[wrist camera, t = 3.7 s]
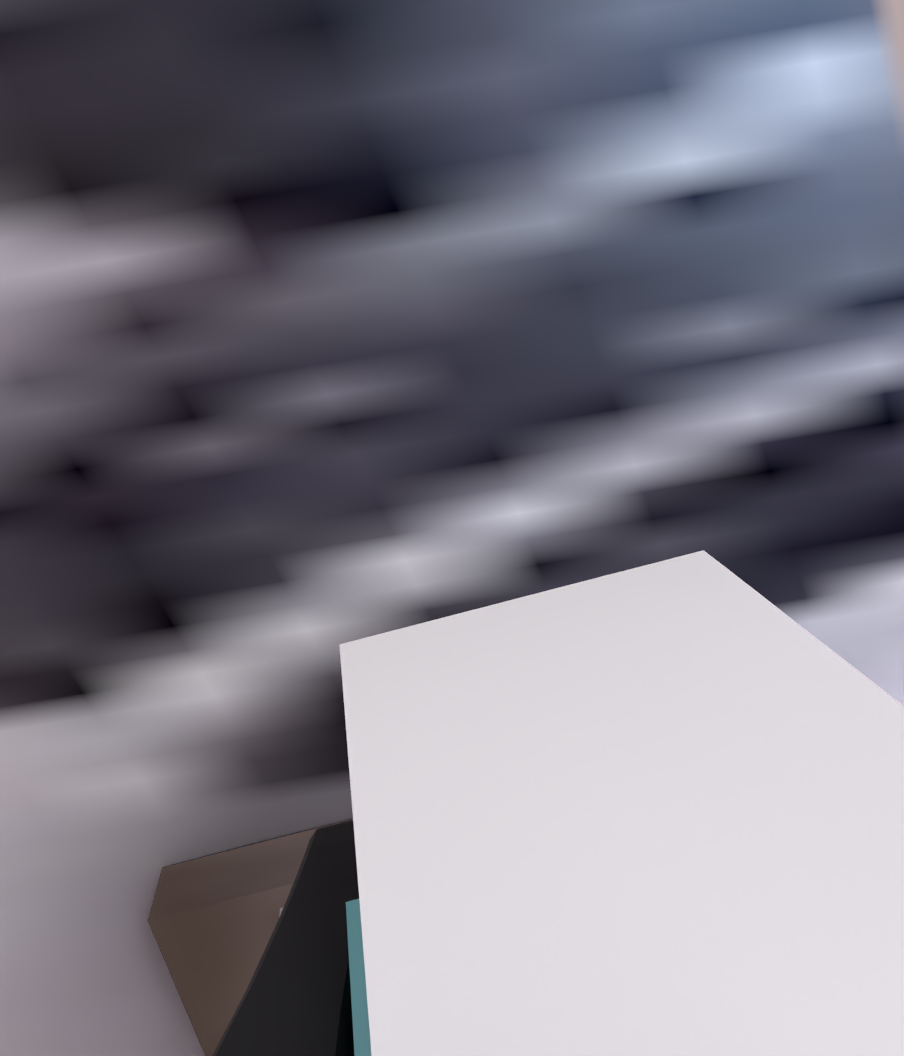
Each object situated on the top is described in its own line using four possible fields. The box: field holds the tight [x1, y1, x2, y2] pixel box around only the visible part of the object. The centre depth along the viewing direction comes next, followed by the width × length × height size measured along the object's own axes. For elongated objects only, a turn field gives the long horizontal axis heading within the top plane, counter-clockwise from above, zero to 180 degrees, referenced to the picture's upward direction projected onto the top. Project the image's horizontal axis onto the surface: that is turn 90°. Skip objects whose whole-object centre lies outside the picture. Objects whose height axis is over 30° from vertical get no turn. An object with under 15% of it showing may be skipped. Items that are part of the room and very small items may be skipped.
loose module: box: [339, 550, 904, 1056], centre depth 9 cm, size 5×4×7 cm
